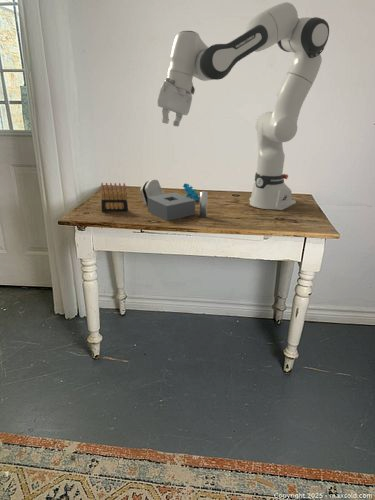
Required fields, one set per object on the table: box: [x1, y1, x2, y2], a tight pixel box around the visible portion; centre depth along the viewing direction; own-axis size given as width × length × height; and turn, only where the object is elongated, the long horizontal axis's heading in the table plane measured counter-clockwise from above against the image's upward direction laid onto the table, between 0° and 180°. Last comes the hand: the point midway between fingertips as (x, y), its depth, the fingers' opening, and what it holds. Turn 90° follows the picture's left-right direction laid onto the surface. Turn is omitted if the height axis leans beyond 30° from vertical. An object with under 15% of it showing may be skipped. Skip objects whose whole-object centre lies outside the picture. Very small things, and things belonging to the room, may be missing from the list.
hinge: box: [139, 179, 166, 206], centre depth 158 cm, size 17×5×10 cm, turn 166°
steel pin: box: [198, 191, 209, 219], centre depth 138 cm, size 3×3×10 cm
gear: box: [182, 182, 200, 202], centre depth 160 cm, size 11×6×10 cm
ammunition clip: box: [100, 182, 129, 213], centre depth 141 cm, size 11×2×12 cm, turn 94°
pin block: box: [147, 191, 196, 222], centre depth 142 cm, size 14×14×6 cm
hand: (170, 124), depth 124 cm, fingers open, 8 cm apart
